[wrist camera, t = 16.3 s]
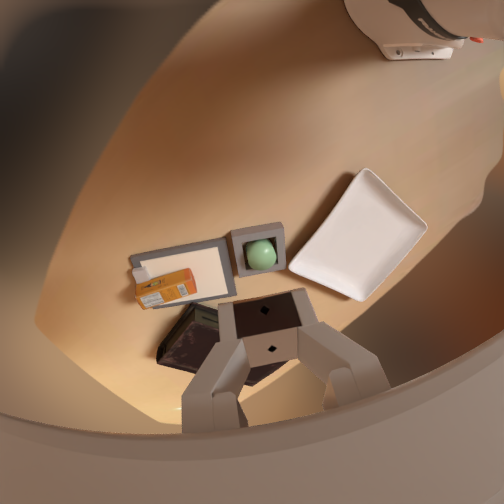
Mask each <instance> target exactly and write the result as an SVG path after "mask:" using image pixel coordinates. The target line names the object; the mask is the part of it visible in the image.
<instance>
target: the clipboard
mask: <svg viewBox="0 0 504 504" xmlns="http://www.w3.org/2000/svg"><path fill="white" fill-rule="evenodd" d="M130 259H131V261H132V264H133V266H134V268H133V270H132V274H133V276H134V278H135V280H136V283H137V284H140V283H143V282H146V281H149V280H152V279H155V278H158V277H161V276H164V275H167V274H170V273H173V272H177V271H180V270H183V269H186V268H190V269H191V271H192V273H193V276H194V279H195V282H196V287H197V293H195V294H192V295H189V296H185V297H182V298H179V299H176V300H173V301H170V302H167V303H164V304H160V305H157V306H154V307H153V309H159V308H165V307H172V306H178V305H184V304H190V303H192V302H195V303H196V302H202V301H208V300H214V299H220V298H225V297H231V296H236V295H237V292H236V287H235V282H234V278H233V273H232V268H231V263H230V258H229V253H228V248H227V243H226V238H225V237H223V238H217V239H212V240H207V241H201V242H196V243H191V244H185V245H180V246H175V247H170V248H165V249H160V250H155V251H150V252H145V253H140V254H135V255H131V257H130Z"/></svg>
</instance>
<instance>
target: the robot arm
mask: <svg viewBox="0 0 504 504" xmlns="http://www.w3.org/2000/svg"><path fill="white" fill-rule="evenodd" d="M344 3H345V6H346V9H347V11H348V13H349V15H350V17H351V18H352V20H353V21H354V23H355V24H356V25H357V27H358V28H359V29H360V30H361V31H362V32H363V33H364V34H365V35H367V36H368V37H369V38H370V39H372V40H373V41H374V42H375V43H376V44H377V45H378V47H379V48H380V50H381V51H382V53H383V54H384V56H385V57H386V58H387V59H389V60H402V59H449V58H450V57H451V55H452V52H453V48H457V49H460V48H461V47H462V46H463V43H464V39H465V38H468V37H470V40H472V41H475V42H479V43H483V38H487V39H495V40H502V41H504V0H344ZM396 51H397V52H398V54H397V53H396ZM218 320H219V334H220V342H218V343H215V345H214V346H213V348H212V350H211V351H210V353H209V354H208V356H207V357H206V359H205V361H204V362H203V364H202V365H201V367H200V368H199V370H198V371H197V373H196V374H195V376H194V378H193V379H192V381H191V382H190V384H189V385H188V387H187V388H186V390H185V391H184V393H183V394H182V433H179V434H131V433H112V432H100V431H91V430H81V429H75V428H68V427H62V426H55V425H50V424H45V423H40V422H36V421H31V420H27V419H23V418H19V417H15V416H11V415H8V414H5V413H1V412H0V504H504V330H503V331H501V332H500V333H499V334H497V335H495V336H494V337H492V338H491V339H489V340H488V341H486V342H484V343H483V344H481V345H479V346H478V347H476V348H474V349H473V350H471V351H469V352H468V353H466V354H464V355H462V356H460V357H459V358H457V359H455V360H453V361H451V362H449V363H447V364H445V365H443V366H441V367H439V368H438V369H435V370H433V371H431V372H429V373H427V374H425V375H423V376H420V377H418V378H416V379H414V380H412V381H409V382H407V383H404V384H402V385H400V386H397V387H395V388H392V389H391V387H390V385H389V382H388V380H387V378H386V376H385V374H384V371H383V369H382V367H381V365H380V363H379V361H378V358H377V357H376V355H374V354H372V353H371V352H369V351H368V350H366V349H364V348H363V347H362V346H360V345H358V344H357V343H355V342H354V341H352V340H351V339H349V338H348V337H346V336H345V335H343V334H342V333H340V332H338V331H337V330H335V329H334V328H332V327H331V326H329V325H328V324H326V323H325V322H319V321H318V319H317V316H316V314H315V311H314V309H313V306H312V304H311V301H310V299H309V296H308V294H307V291H306V289H305V288H304V287H303V288H298V289H294V290H290V291H284V292H280V293H275V294H270V295H265V296H261V297H256V298H250V299H244V300H237V301H233V302H226V303H220V304H218ZM297 358H298V360H299V361H301V362H302V363H303V364H304V365H305V366H306V367H307V368H308V369H309V370H311V371H312V372H313V373H314V374H315V375H316V376H317V377H318V378H320V379H321V380H322V381H323V382H324V383H325V384H326V385H327V387H326V391H325V396H324V400H323V404H322V405H323V409H324V411H322V412H319V413H315V414H311V415H307V416H302V417H298V418H294V419H289V420H284V421H279V422H274V423H269V424H264V425H257V426H251V427H249V426H248V420H247V418H246V416H245V414H244V412H243V410H242V408H241V406H240V404H239V402H238V396H239V394H240V392H241V390H242V388H243V385H244V383H245V381H246V379H247V377H248V374H249V372H250V370H251V369H250V368H252V367H257V366H262V365H267V364H271V363H276V362H282V361H287V360H292V359H297Z"/></svg>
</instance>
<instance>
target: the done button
mask: <svg viewBox="0 0 504 504" xmlns="http://www.w3.org/2000/svg"><path fill="white" fill-rule="evenodd" d="M246 254H247V258H248V263H249V265H250V266H251V267H252V268H253V269H255V270H259V271H262V270H266V269H269V268H270V267H272V266H273V265H274V263H275V261H276V253H275V251H274V248H273V246H272V243H271V241H270V240H269V239H267V238H265V239H259V240H254V241H249V242H248V244H247V245H246Z"/></svg>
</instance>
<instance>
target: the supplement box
mask: <svg viewBox="0 0 504 504" xmlns="http://www.w3.org/2000/svg"><path fill="white" fill-rule="evenodd" d="M195 293H197V287H196V282H195V279H194V276H193V273H192V271H191V269H190V268H186V269H183V270H180V271H177V272H173V273H170V274H167V275H164V276H161V277H158V278H155V279H152V280H149V281H146V282H143V283H140V284H137V285H136V295H135V299H136V300H137V302H138V304H139V305H140V306H141V308H142V309H143V310H145V309H148V308H151V307H154V306H157V305H160V304H164V303H167V302H170V301H173V300H176V299H179V298H182V297H185V296H189V295H192V294H195Z"/></svg>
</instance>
